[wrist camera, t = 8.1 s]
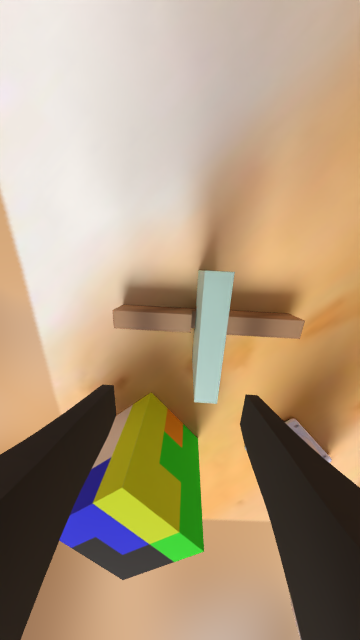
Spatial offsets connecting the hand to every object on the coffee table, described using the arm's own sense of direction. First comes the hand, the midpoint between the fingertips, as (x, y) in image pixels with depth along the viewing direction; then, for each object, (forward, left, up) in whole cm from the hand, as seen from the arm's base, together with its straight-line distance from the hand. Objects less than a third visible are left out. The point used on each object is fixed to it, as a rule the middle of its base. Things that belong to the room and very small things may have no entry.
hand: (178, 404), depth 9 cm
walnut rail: (0, -3, -10) cm, 11 cm away
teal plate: (0, -3, -10) cm, 11 cm away
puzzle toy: (-8, +14, -11) cm, 19 cm away
